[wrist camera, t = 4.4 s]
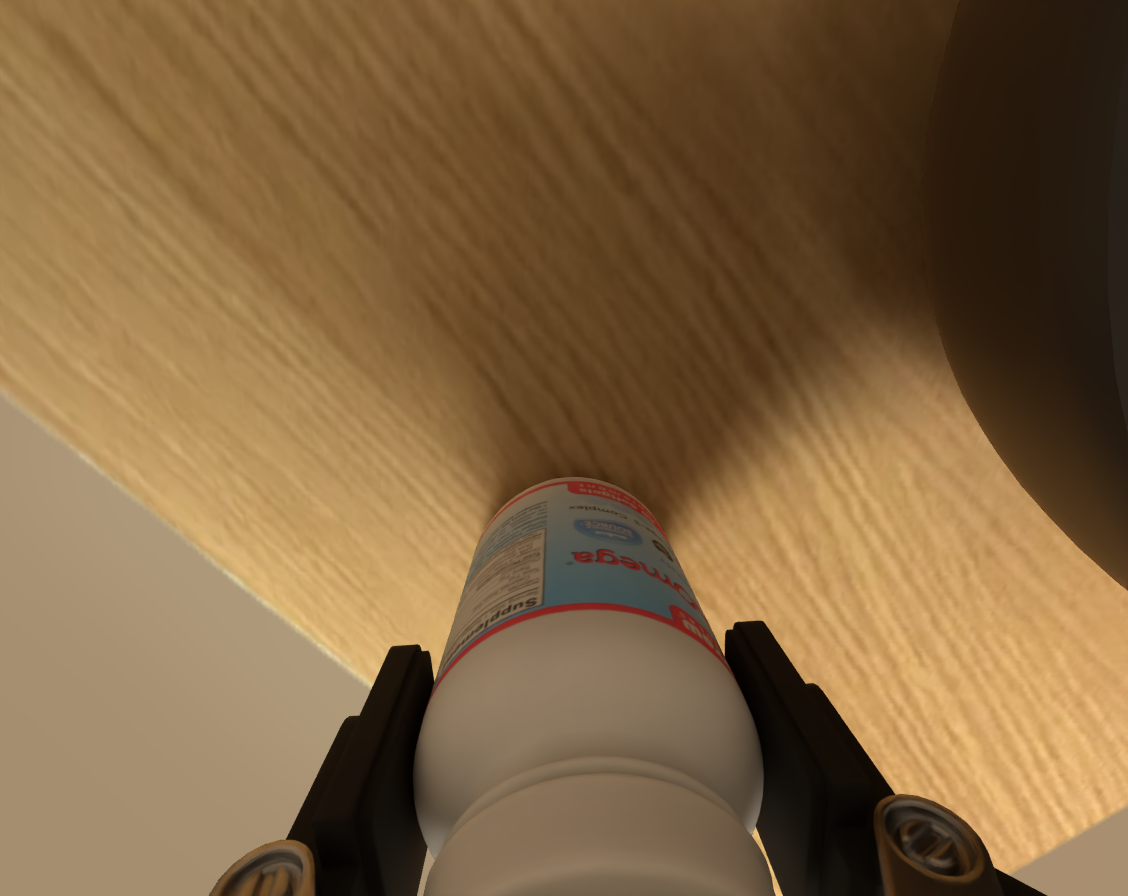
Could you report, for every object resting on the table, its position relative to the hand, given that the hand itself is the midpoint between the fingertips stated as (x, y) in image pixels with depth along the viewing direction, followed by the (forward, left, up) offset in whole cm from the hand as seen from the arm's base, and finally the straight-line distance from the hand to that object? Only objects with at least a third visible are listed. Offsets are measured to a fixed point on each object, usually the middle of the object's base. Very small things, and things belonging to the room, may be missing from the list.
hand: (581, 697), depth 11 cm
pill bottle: (0, 0, -6) cm, 6 cm away
